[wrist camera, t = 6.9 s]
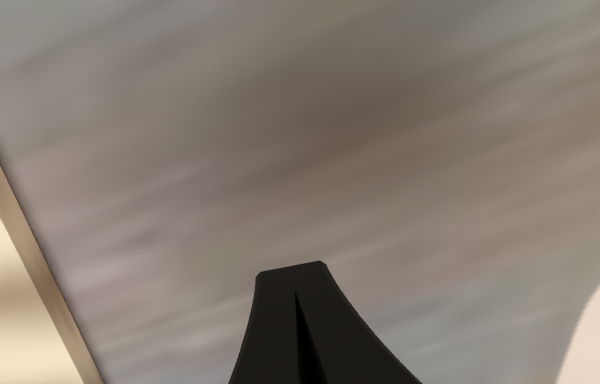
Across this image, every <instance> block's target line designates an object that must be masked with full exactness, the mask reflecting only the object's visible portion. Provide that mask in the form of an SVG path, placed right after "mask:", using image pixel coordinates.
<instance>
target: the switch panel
mask: <svg viewBox="0 0 600 384" xmlns="http://www.w3.org/2000/svg"><path fill="white" fill-rule="evenodd" d="M0 384H104V382H103V380H102V378H101V376H100V374H99V372H98V370H97V368H96V366H95V363H94V361H93V359H92V357H91V355H90V353H89V351H88V349H87V347H86V345H85V342H84V340H83V338H82V336H81V334H80V332H79V330H78V328H77V326H76V324H75V321H74V319H73V317H72V315H71V313H70V311H69V309H68V307H67V305H66V303H65V301H64V298H63V296H62V294H61V292H60V290H59V288H58V286H57V284H56V282H55V280H54V277H53V275H52V273H51V271H50V269H49V267H48V265H47V263H46V261H45V259H44V256H43V254H42V252H41V250H40V248H39V246H38V244H37V242H36V240H35V238H34V236H33V233H32V231H31V229H30V227H29V225H28V223H27V221H26V219H25V217H24V215H23V212H22V210H21V208H20V206H19V204H18V202H17V200H16V198H15V196H14V194H13V191H12V189H11V187H10V185H9V183H8V181H7V179H6V177H5V175H4V173H3V171H2V168H1V166H0Z"/></svg>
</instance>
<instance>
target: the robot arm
mask: <svg viewBox="0 0 600 384" xmlns="http://www.w3.org/2000/svg"><path fill="white" fill-rule="evenodd" d="M228 384H422V383H421V382H420V381H419V380H418V379H417V378H416V377H415V376H414V375H413V374H412V373H411V372H410V371H409V370H408V369H407V368H406V367H405V366H404V365H403V364H402V363H401V362H400V361H399V360H398V359H397V358H396V357H395V356H394V355H393V354H392V353H391V351H390V350H389V349H388V348H387V347H386V346H385V345H384V344H383V343H382V342H381V341H380V339H379V338H378V337H377V336H376V335H375V334H374V332H373V331H372V330H371V329H370V328H369V326H368V325H367V324H366V323H365V321H364V320H363V319H362V318H361V317H360V315H359V314H358V313H357V312H356V310H355V309H354V308H353V306H352V305H351V304H350V302H349V301H348V299H347V298H346V297H345V295H344V294H343V292H342V291H341V289H340V288H339V286H338V285H337V283H336V282H335V280H334V278H333V277H332V275H331V273H330V271H329V270H328V268H327V265H326V264H325V263H323V262H322V261H315V262H310V263H304V264H299V265H294V266H289V267H284V268H278V269H273V270H268V271H263V272H260V273H259V274H258V275H257V277H256V282H255V292H254V298H253V304H252V308H251V313H250V317H249V321H248V325H247V329H246V332H245V335H244V339H243V342H242V346H241V349H240V353H239V356H238V359H237V362H236V364H235V367H234V370H233V373H232V375H231V378H230V381H229V383H228Z"/></svg>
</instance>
